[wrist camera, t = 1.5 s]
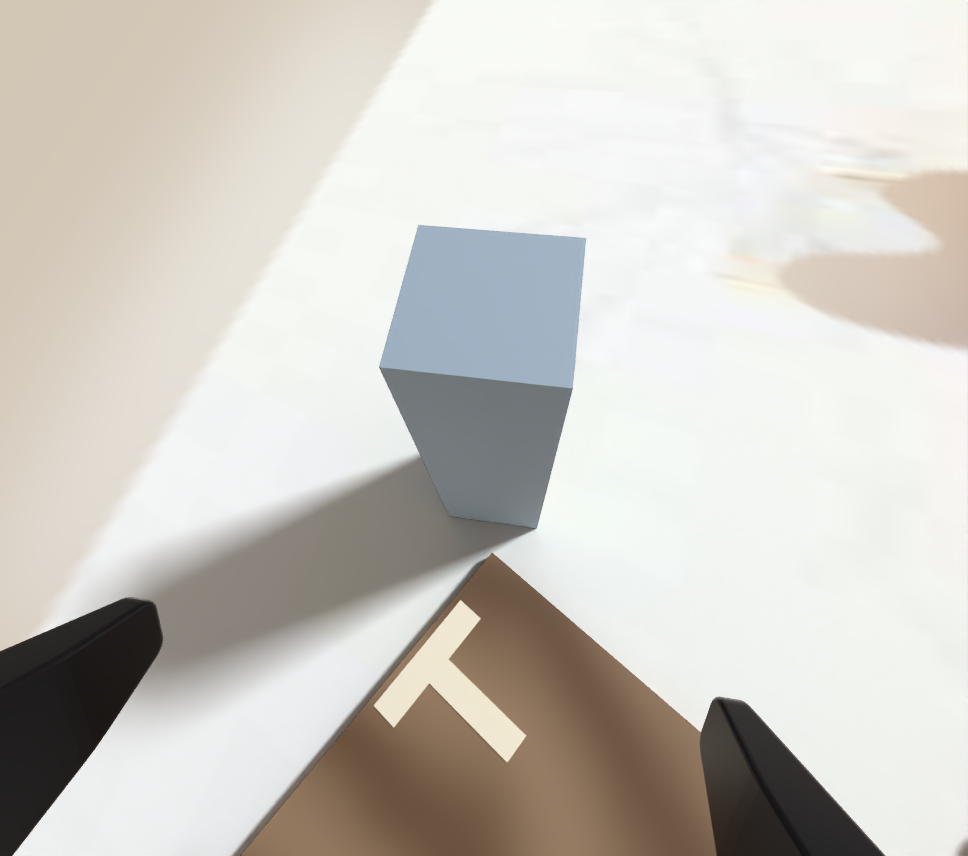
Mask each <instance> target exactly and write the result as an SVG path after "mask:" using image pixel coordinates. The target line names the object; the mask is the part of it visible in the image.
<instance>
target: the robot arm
mask: <svg viewBox="0 0 968 856" xmlns="http://www.w3.org/2000/svg"><path fill="white" fill-rule="evenodd" d="M162 643H163V634H162V630H161V625H160V621H159V616H158V612H157V608H156V605H155V604H154V603H153V602H152V601H150V600H146V599H140V598H133V597H128V598H124V599H121V600H119V601H117V602H114V603H112V604H110V605H107V606H105V607H103V608H100V609H98V610H96V611H93V612H91V613H89V614H86V615H84V616H82V617H79V618H77V619H75V620H72V621H70V622H68V623H65V624H63V625H61V626H58V627H56V628H54V629H51V630H49V631H47V632H44V633H42V634H40V635H37V636H35V637H33V638H30V639H28V640H26V641H23V642H21V643H19V644H16V645H14V646H12V647H9V648H7V649H5V650H2V651H0V856H13V854H14V853H15V852H16V850H17V849H18V848H19V847H20V845H21V844H22V843H23V841H24V840H25V839H26V838H27V836H28V835H29V834H30V832H31V831H32V830H33V829H34V827H35V826H36V825H37V823H38V822H39V821H40V820H41V818H42V817H43V816H44V814H45V813H46V812H47V811H48V809H49V808H50V807H51V805H52V804H53V803H54V802H55V800H56V799H57V798H58V796H59V795H60V794H61V793H62V791H63V790H64V789H65V787H66V786H67V785H68V784H69V782H70V781H71V780H72V778H73V777H74V776H75V775H76V773H77V772H78V771H79V769H80V768H81V767H82V766H83V764H84V763H85V762H86V760H87V759H88V758H89V756H90V755H91V754H92V752H93V751H94V750H95V748H96V747H97V745H98V744H99V742H100V741H101V740H102V738H103V737H104V735H105V734H106V732H107V731H108V729H109V728H110V726H111V725H112V723H113V722H114V720H115V719H116V717H117V716H118V714H119V713H120V711H121V710H122V708H123V707H124V705H125V704H126V702H127V701H128V699H129V698H130V696H131V695H132V693H133V692H134V690H135V688H136V687H137V685H138V684H139V682H140V681H141V679H142V678H143V676H144V675H145V673H146V672H147V670H148V669H149V667H150V666H151V664H152V663H153V661H154V660H155V658H156V657H157V655H158V653H159V651H160V649H161V647H162ZM700 753H701V760H702V766H703V772H704V779H705V785H706V791H707V798H708V804H709V810H710V817H711V823H712V829H713V836H714V842H715V848H716V855H717V856H885V855H884V854H883V853H882V851H881V850H880V849H879V848H878V847H877V846H876V845H875V844H874V843H873V842H872V840H871V839H870V838H869V837H868V836H867V835H866V834H865V833H864V832H863V830H862V829H861V828H860V827H859V826H858V825H857V824H856V823H855V822H854V821H853V819H852V818H851V817H850V816H849V815H848V814H847V813H846V812H845V811H844V810H843V808H842V807H841V806H840V805H839V804H838V803H837V802H836V801H835V800H834V799H833V797H832V796H831V795H830V794H829V793H828V792H827V791H826V790H825V789H824V787H823V786H822V785H821V784H820V783H819V782H818V781H817V780H816V779H815V778H814V776H813V775H812V774H811V773H810V772H809V771H808V770H807V769H806V768H805V767H804V765H803V764H802V763H801V762H800V761H799V760H798V759H797V758H796V757H795V755H794V754H793V753H792V752H791V751H790V750H789V749H788V748H787V747H786V746H785V744H784V743H783V742H782V741H781V740H780V739H779V738H778V737H777V736H776V735H775V733H774V732H773V731H772V730H771V729H770V728H769V727H768V726H767V725H766V723H765V722H764V721H763V720H762V719H761V718H760V717H759V716H758V715H757V714H756V712H755V711H754V710H753V709H752V708H751V707H750V706H749V705H748V704H746V703H745V702H743V701H741V700H736V699H730V698H724V697H716V698H714V699H713V701H712V703H711V705H710V708H709V711H708V714H707V717H706V720H705V723H704V726H703V728H702V731H701V735H700Z"/></svg>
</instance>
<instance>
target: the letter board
mask: <svg viewBox="0 0 968 856" xmlns="http://www.w3.org/2000/svg"><path fill="white" fill-rule="evenodd" d="M700 735H701V732H700V731H698V730H697V729H696V728H695V727H694V726H693V725H691V724H690V723H689V722H688V721H687V720H686V719H684V718H683V717H682V716H681V715H680V714H679V713H678V712H676V711H675V710H674V709H673V708H672V707H671V706H669V705H668V704H667V703H666V702H665V701H664V700H662V699H661V698H660V697H659V696H658V695H657V694H655V693H654V692H653V691H652V690H651V689H650V688H649V687H647V686H646V685H645V684H644V683H643V682H642V681H640V680H639V679H638V678H637V677H636V676H635V675H633V674H632V673H631V672H630V671H629V670H628V669H626V668H625V667H624V666H623V665H622V664H621V663H620V662H618V661H617V660H616V659H615V658H614V657H613V656H611V655H610V654H609V653H608V652H607V651H606V650H604V649H603V648H602V647H601V646H600V645H599V644H598V643H596V642H595V641H594V640H593V639H592V638H591V637H589V636H588V635H587V634H586V633H585V632H584V631H582V630H581V629H580V628H579V627H578V626H577V625H575V624H574V623H573V622H572V621H571V620H570V619H569V618H567V617H566V616H565V615H564V614H563V613H562V612H560V611H559V610H558V609H557V608H556V607H555V606H553V605H552V604H551V603H550V602H549V601H548V600H546V599H545V598H544V597H543V596H542V595H541V594H540V593H538V592H537V591H536V590H535V589H534V588H533V587H531V586H530V585H529V584H528V583H527V582H526V581H524V580H523V579H522V578H521V577H520V576H519V575H517V574H516V573H515V572H514V571H513V570H512V569H511V568H509V567H508V566H507V565H506V564H505V563H504V562H502V561H501V560H500V559H499V558H498V557H497V556H495V555H494V554H493V553H491V555H490V556H489V557H488V558H487V559H486V561H485V562H484V563H483V564H482V565H481V567H480V568H479V569H478V570H477V571H476V573H475V574H474V575H473V576H472V577H471V579H470V580H469V581H468V582H467V583H466V585H465V586H464V587H463V588H462V589H461V591H460V592H459V593H458V594H457V595H456V597H455V598H454V599H453V600H452V602H451V603H450V604H449V605H448V606H447V608H446V609H445V610H444V611H443V612H442V614H441V615H440V616H439V617H438V618H437V620H436V621H435V622H434V623H433V624H432V626H431V627H430V628H429V629H428V630H427V632H426V633H425V634H424V635H423V636H422V638H421V639H420V640H419V641H418V642H417V644H416V645H415V646H414V647H413V648H412V650H411V651H410V652H409V653H408V655H407V656H406V657H405V658H404V659H403V661H402V662H401V663H400V664H399V665H398V667H397V668H396V669H395V670H394V671H393V673H392V674H391V675H390V676H389V677H388V679H387V680H386V681H385V682H384V683H383V685H382V686H381V687H380V688H379V689H378V691H377V692H376V693H375V694H374V695H373V697H372V698H371V699H370V700H369V701H368V703H367V704H366V705H365V706H364V707H363V709H362V710H361V711H360V712H359V714H358V715H357V716H356V717H355V718H354V720H353V721H352V722H351V723H350V724H349V726H348V727H347V728H346V729H345V730H344V732H343V733H342V734H341V735H340V736H339V738H338V739H337V740H336V741H335V742H334V744H333V745H332V746H331V747H330V748H329V750H328V751H327V752H326V753H325V754H324V756H323V757H322V758H321V759H320V760H319V762H318V763H317V764H316V765H315V767H314V768H313V769H312V770H311V771H310V773H309V774H308V775H307V776H306V777H305V779H304V780H303V781H302V782H301V783H300V785H299V786H298V787H297V788H296V789H295V791H294V792H293V793H292V794H291V795H290V797H289V798H288V799H287V800H286V801H285V803H284V804H283V805H282V806H281V807H280V809H279V810H278V811H277V812H276V813H275V815H274V816H273V817H272V818H271V820H270V821H269V822H268V823H267V824H266V826H265V827H264V828H263V829H262V830H261V832H260V833H259V834H258V835H257V836H256V838H255V839H254V840H253V841H252V842H251V844H250V845H249V846H248V847H247V848H246V850H245V851H244V852H243V853H242V854H241V856H717V855H716V848H715V842H714V836H713V829H712V823H711V817H710V810H709V804H708V798H707V791H706V785H705V779H704V772H703V766H702V760H701V753H700Z"/></svg>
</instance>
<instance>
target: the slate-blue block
mask: <svg viewBox="0 0 968 856" xmlns="http://www.w3.org/2000/svg"><path fill="white" fill-rule="evenodd" d="M585 243H586V238H577V237H565V236H552V235H539V234H526V233H513V232H501V231H488V230H475V229H462V228H450V227H437V226H424V225H418V228H417V232H416V236H415V239H414V243H413V246H412V250H411V254H410V257H409V261H408V265H407V268H406V272H405V275H404V279H403V283H402V286H401V290H400V293H399V297H398V301H397V304H396V308H395V312H394V315H393V319H392V322H391V326H390V330H389V333H388V337H387V341H386V344H385V348H384V351H383V355H382V359H381V362H380V366H379V368H380V370H381V372H382V374H383V376H384V379H385V381H386V383H387V385H388V387H389V389H390V391H391V394H392V396H393V398H394V400H395V402H396V404H397V406H398V408H399V411H400V413H401V415H402V417H403V419H404V421H405V423H406V426H407V428H408V430H409V432H410V434H411V436H412V438H413V440H414V443H415V445H416V447H417V449H418V451H419V453H420V455H421V458H422V460H423V462H424V464H425V466H426V468H427V470H428V472H429V475H430V477H431V479H432V481H433V483H434V485H435V487H436V490H437V492H438V494H439V496H440V498H441V500H442V502H443V504H444V507H445V509H446V511H447V513H448V515H449V516H452V517H459V518H466V519H473V520H480V521H487V522H495V523H502V524H509V525H516V526H523V527H530V528H537V525H538V522H539V518H540V514H541V510H542V506H543V502H544V498H545V494H546V490H547V486H548V483H549V479H550V475H551V471H552V467H553V463H554V459H555V455H556V451H557V448H558V444H559V440H560V436H561V432H562V428H563V424H564V420H565V416H566V413H567V409H568V405H569V401H570V397H571V393H572V389H573V379H574V368H575V356H576V345H577V334H578V323H579V311H580V300H581V289H582V277H583V266H584V255H585Z"/></svg>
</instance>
